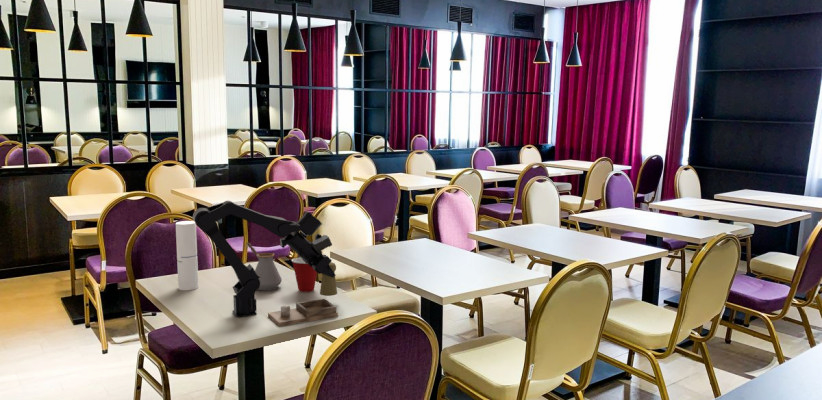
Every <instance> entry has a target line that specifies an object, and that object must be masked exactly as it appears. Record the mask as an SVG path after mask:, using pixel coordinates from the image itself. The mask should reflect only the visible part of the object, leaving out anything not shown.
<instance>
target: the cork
mask: <svg viewBox="0 0 822 400" xmlns="http://www.w3.org/2000/svg"><path fill="white" fill-rule="evenodd" d="M329 266H330V267H331V269H332V270H333V272H334V273H335V272H336V270H337V265H336V263H335V262H332V261H331V263H330V264H329ZM335 274H336V273H335ZM320 283H321V284H320V289H319V294H320V295H321V296H324V297H325V296H326V297H331V296H332V297H333V296H335V295H338V290H337V282H336V276H335V277H334V278H333V277H330V276H327V275H324V274H321V282H320Z"/></svg>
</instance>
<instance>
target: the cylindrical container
mask: <svg viewBox="0 0 822 400" xmlns="http://www.w3.org/2000/svg"><path fill="white" fill-rule="evenodd" d="M175 238H176V239H175V240H176V243H175V244H176V260H177V262H176V263H177V283H178V284H177V286H178V290H180V291H192V290H197V289H198V288H199V272H198V271H199V265H198V243H197V241H198V240H197V225H196V223H195V222H194V220H183V221H176V223H175Z"/></svg>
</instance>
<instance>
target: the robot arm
mask: <svg viewBox="0 0 822 400" xmlns="http://www.w3.org/2000/svg"><path fill="white" fill-rule="evenodd" d="M230 215H231V216H234V217H237V218H239V219H241V220H244V221H247V222H250V223H253V224H255V225H258V226H260V227H263V228H264V229H266V230H268V231H269V232H271V233H272V234H274V235H276V236H277V237H280V238H279V241H280V243H279V246H280V247H281V248H285V247H286V246H289V248H290V249H292V251H294V252H295V253H296V254H297V255H298V256H299V258H302V260H303V261H304V262H305V263H308V264H309V266H310V267H313V269H314V270H315V271H316V272H317V275H318V274H319V275H320V274H321V275H322V274H324V275H327V276H330V277H333V278H334V277H335V278H336V275H337V274H336V273H334V272H333V270H332V269H331V267H330V266H329V264H330V263H331V262H332V261H333V260H332V259H331V258H330V257H329V256H328V255H326V254H323V250H325V249H328V247H329V248H330V247H332V246H333V243H332V240H331V239H330V236H328V235H327V234H325V235H324V234H323V235H321V234H320V233H317V234H315V232H317V230H318V229H319V228H320V227H321V226H322V225H323V223H322V222H321V221H320V220H319V218H317V217H315V216H314V215H313V214H312V213H311V212H309V211H307V210H306V211H305V212H304V214H303V215H302V216H301V217H300V218H299V220H298V221H297V222H296V221H294V220H293V221H291V220H287V219H285V218H284V217H281V216H280V217H279V216H275V215H267V214H264V213H261V212H258V211H255V210H253V209H251V208H247V207H245V206H243V205H241V204H237V203H234V202H233V201H231V200H225V201H223V202H220V203H218V204H217V203H216V204H215V205H211V206H209V207H198V208H197V209H195V211H194V212H193V214H192V221H194V222H195V223H196V227H198V228H199V229H200V230H201V232H204V234H205V235H206V236H208V238H210V239H211V241H212V242H213V244H215V246H216V247H217V249H218V250H219V252H220V253H221V254H222V255H223V257H224V258H225V259H226V261H227V263H229V265H230V267H231V268H232V270H233V271H234V274H235V275H236V278H237V282H236V283H235V284H234V285H233V286H232V289H233V291H234V293H235V294H234V295H233V297H232V298H233V310H232V314H233V315H234V316H236V318H242V317H249V316H254V315H255V316H256V315H257V298H255V297H256V296H255V295H256V294H255V293H256V292H257V291H259V290H258V289H259V287H260V280H259V279H258V278H260V276H259V275H258V274H257V273H256V272H255V269H254V267H253V266H252V265H251V263H248V265H246V264H245V263H244V262H243V261H242V260H241V259H240V257H239V256H238V254H237V253H236V252H235V250H234V248H233V247H232V246H231V244H230V243H229V242H228V240H227V239H226V238H225V236H224V235H223V233H222V232H221V230H220V228H219V225H218V223H217V222H218V221H220V220H222V219H223V218H225V217H227V216H230ZM313 234H315V235H314V239H313V241H310V240H308V239H307V237H309V236H313ZM303 235H304V236H303ZM305 236H306V237H305Z"/></svg>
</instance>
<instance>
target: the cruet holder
mask: <svg viewBox="0 0 822 400" xmlns="http://www.w3.org/2000/svg"><path fill="white" fill-rule="evenodd" d="M295 307H296V308H292V309H291V306H290V304H289V305H286V304H285V305H284V304H283V305H281V306H280V310H277V311H271V312H267V313H268V314H267V316H268V318H270V320H272V322H274V323H275V324H276V325H277V326H278V327H284V326H288V325H289V326H290V325H294V324H295V325H296V324H301V323H306V322H312V321H318V320H324V319H330V318H336V317H339V313H338V312H337V306H336V305H334V304H332V303H331V302H330V301H329V300H327V299H325V298H319V299H314V300H313V299H312V300H305V301H301V302H300V301H299V302H296V303H295Z"/></svg>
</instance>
